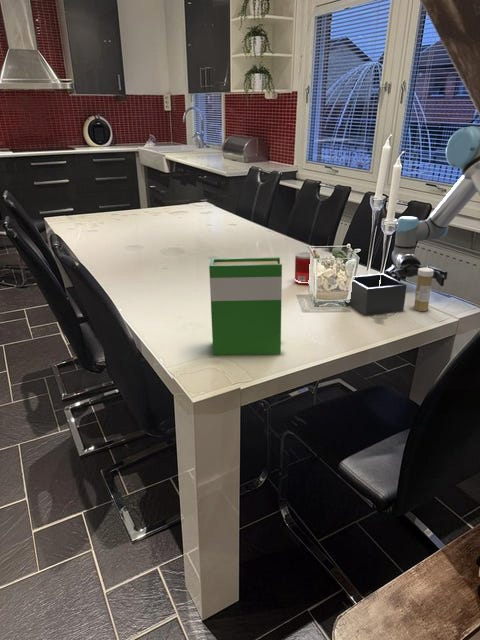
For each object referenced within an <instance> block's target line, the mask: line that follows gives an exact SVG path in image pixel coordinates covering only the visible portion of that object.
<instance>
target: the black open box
mask: <svg viewBox="0 0 480 640" xmlns="http://www.w3.org/2000/svg"><path fill="white" fill-rule="evenodd" d="M380 275H381V284H380V287H379V280H380ZM354 277H355V279H354V280H353V282H352V292H351V299H350V302H349V303H347V305H349V306H350V307H352V308H353V309H355V310H356V311H358V312H359V313H361V314H362V315H363V316H366V317H368V316H374V315H383V314H391V313H400V312H404V311H405V309H404V308H405V302H406V301H405V300H406V292H407V287H408V286H407V284H406V283H404V282H402V281H398V280H395V279H393V278H391V277H389V276H387V275H385V273H376V274H375V273H374V274H365V275H357V276H354Z"/></svg>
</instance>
